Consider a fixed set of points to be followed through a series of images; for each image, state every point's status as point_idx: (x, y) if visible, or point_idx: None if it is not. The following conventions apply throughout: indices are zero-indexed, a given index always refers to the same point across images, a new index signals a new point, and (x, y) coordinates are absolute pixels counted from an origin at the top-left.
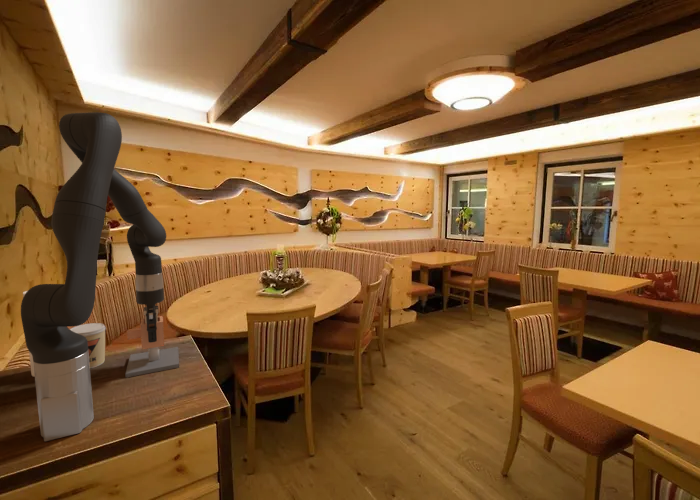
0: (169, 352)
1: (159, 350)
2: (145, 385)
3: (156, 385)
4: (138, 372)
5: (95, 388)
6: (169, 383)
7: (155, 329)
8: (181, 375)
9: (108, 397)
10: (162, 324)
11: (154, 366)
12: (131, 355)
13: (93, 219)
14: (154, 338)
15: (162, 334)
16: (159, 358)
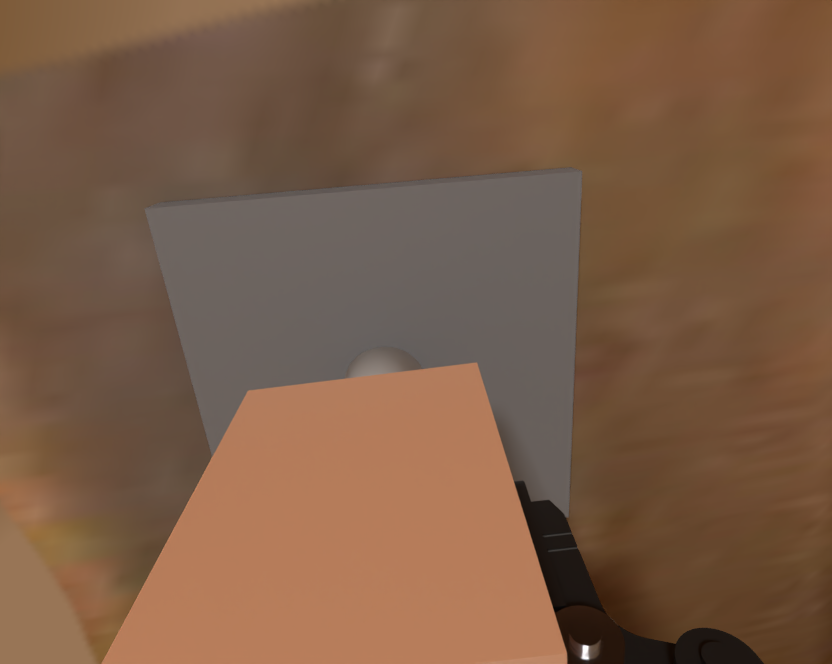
0: (276, 278)
1: (202, 366)
2: (745, 375)
3: (792, 308)
4: (569, 448)
5: (618, 600)
6: (822, 223)
7: (747, 657)
8: (740, 137)
9: (769, 528)
10: (546, 602)
11: (535, 363)
12: None
13: None
14: (568, 528)
15: (506, 463)
16: (387, 346)
